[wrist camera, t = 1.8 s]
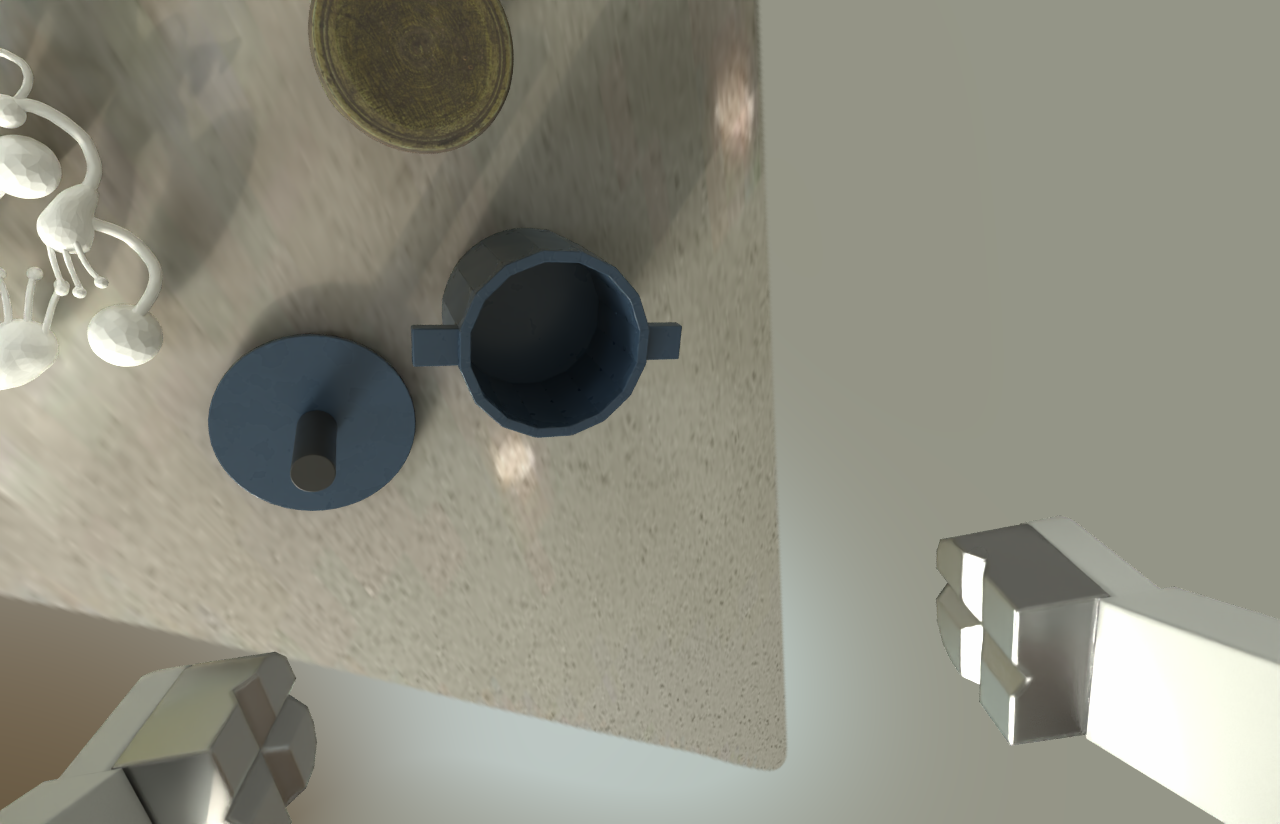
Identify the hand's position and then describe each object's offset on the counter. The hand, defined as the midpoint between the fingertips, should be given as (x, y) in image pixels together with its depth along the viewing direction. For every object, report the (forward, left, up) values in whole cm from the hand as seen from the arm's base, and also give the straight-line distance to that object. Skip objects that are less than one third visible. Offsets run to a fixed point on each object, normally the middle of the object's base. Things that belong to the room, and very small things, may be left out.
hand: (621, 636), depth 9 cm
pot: (+8, +9, -46) cm, 48 cm away
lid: (+16, -6, -46) cm, 49 cm away
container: (-8, 0, -47) cm, 47 cm away
